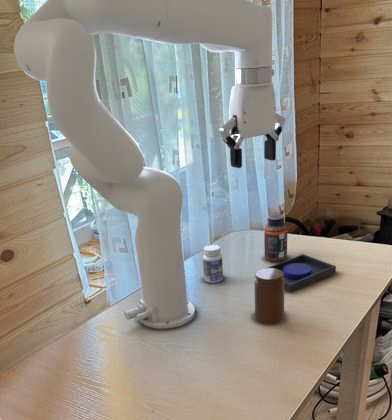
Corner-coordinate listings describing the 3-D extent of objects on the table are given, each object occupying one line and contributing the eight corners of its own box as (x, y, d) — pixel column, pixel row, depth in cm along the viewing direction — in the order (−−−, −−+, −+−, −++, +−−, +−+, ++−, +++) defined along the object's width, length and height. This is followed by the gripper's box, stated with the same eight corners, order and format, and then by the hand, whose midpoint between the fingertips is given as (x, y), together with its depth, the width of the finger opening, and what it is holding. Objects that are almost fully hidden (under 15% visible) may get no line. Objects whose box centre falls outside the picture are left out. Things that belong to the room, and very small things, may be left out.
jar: (268, 327, 107) (268, 282, 102) (249, 316, 111) (248, 273, 106) (290, 317, 110) (291, 273, 104) (270, 307, 114) (270, 265, 109)
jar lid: (297, 266, 131) (297, 260, 130) (317, 274, 126) (317, 268, 125) (277, 274, 128) (277, 268, 127) (296, 282, 123) (297, 276, 122)
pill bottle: (213, 285, 126) (211, 252, 122) (200, 279, 129) (198, 248, 125) (227, 278, 129) (225, 246, 124) (214, 273, 132) (212, 242, 127)
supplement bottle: (288, 261, 135) (289, 219, 129) (265, 263, 135) (265, 221, 129) (285, 253, 140) (286, 212, 134) (263, 254, 140) (263, 213, 134)
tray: (290, 292, 120) (290, 284, 119) (258, 278, 128) (258, 270, 127) (335, 273, 127) (336, 266, 126) (302, 261, 135) (302, 253, 134)
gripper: (272, 73, 113) (271, 154, 122) (208, 81, 105) (212, 167, 114) (296, 73, 108) (293, 159, 117) (231, 82, 100) (233, 172, 109)
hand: (253, 163), depth 115 cm, fingers open, 9 cm apart
